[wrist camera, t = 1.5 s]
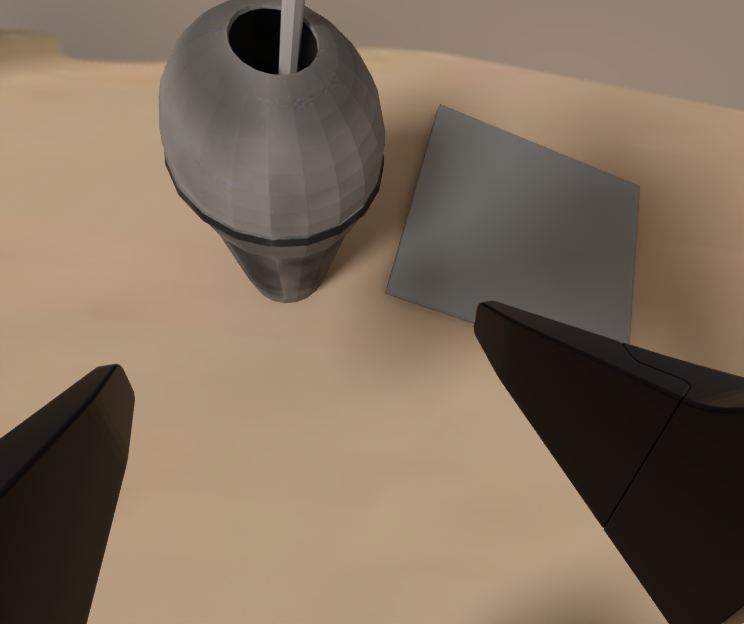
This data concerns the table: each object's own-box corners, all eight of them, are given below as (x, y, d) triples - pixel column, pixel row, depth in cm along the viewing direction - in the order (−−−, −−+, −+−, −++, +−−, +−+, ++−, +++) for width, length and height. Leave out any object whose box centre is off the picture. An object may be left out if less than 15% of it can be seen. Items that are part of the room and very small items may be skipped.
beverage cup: (200, 274, 22) (-342, -486, 3) (279, 196, 25) (227, -518, 6) (295, 348, 22) (297, 16, 3) (365, 263, 25) (603, -221, 6)
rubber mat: (620, 372, 26) (627, 372, 26) (385, 293, 24) (387, 290, 24) (633, 190, 31) (639, 186, 31) (437, 110, 29) (440, 104, 29)
